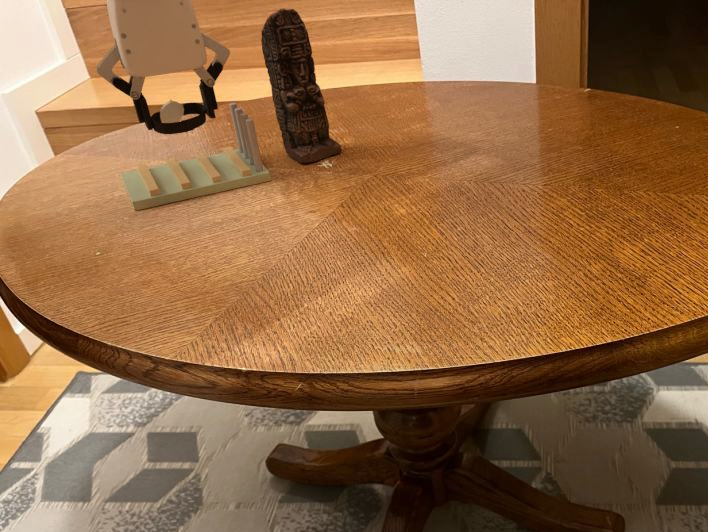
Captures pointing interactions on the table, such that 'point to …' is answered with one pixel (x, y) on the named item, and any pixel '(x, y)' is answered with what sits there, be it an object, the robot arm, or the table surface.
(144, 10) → the robot arm
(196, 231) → the table surface
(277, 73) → the statue
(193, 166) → the rack
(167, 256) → the table surface
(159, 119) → the watch
